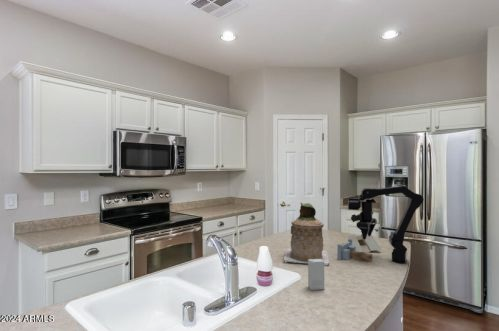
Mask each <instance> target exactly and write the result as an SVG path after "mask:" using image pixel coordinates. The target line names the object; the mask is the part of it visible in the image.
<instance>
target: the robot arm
mask: <svg viewBox="0 0 499 331" xmlns="http://www.w3.org/2000/svg"><path fill="white" fill-rule="evenodd" d="M393 194H395V195H396V194H402V195H403V196H405V197H406V198H407V205H406V209H405V211H404V212H403V216H402V218H401V219H400V222H399V224H398V226H397V228H396V230H395V231H394V232H393V231H390V235H389V236H388V242H389V244H390V246H391V247H393V249H392V251H391V262H394V263H399V264H406V263H407V262H408V260H407V251H408V248H407V247H406V246H405V245H404V242H405V233H406V232H407V229H408V227H409V226H410V222H411V221H412V218H413V216H414V215H415V212H417V210H418V209H419V208H420V207H421V206H422V204H423V203H424V197H423V196H422V194H419V193H417V192H415V191H412V190H411V189H409V188H407V187H406V186H405V185H397V186H396V185H395V186H389V187H380V188H374V187H363V188H362V190H361V191H360V195H359V196H358V197H356V198H355V197H348V202H347V210H349V211H351V210H353V211H359V209H361V211H360V212H359V214H351V217H350V220H351V222H352V223H354V222H356V228H357V229H359V230H360V232H361V234H362V236H363V239H366V237H367V234H368V236H371V235H373V234H372V233H373V231H374V229H375V228H376V225H377V223H378V221H377V218H376V217H375V218H374V217H373V214H374V211H373V204H375V203H377V201H376V200H375V198H377V197H380V196H385V195H386V196H387V195H393Z"/></svg>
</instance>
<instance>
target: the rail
mask: <svg viewBox="0 0 499 331" xmlns="http://www.w3.org/2000/svg"><path fill="white" fill-rule="evenodd" d="M350 259H352V260H358V261H363V262H368V263H371V262H372V261H373V254H372V253H369V252H366V253H365V252H357V251H352V250H350Z"/></svg>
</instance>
